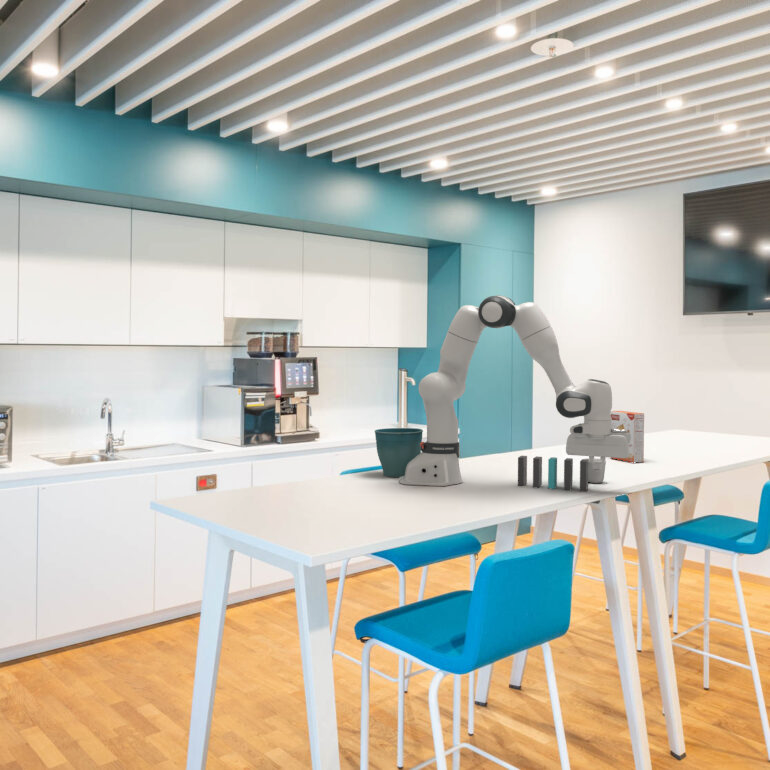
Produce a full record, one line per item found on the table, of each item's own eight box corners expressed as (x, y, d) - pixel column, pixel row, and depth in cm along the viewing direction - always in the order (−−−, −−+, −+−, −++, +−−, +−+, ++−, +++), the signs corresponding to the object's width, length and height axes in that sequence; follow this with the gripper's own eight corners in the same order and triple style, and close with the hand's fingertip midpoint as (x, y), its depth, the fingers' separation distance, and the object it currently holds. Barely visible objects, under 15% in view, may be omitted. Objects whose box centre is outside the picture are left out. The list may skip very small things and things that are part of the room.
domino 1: (526, 484, 258) (527, 455, 257) (523, 486, 253) (523, 457, 253) (521, 484, 259) (521, 455, 258) (517, 486, 254) (518, 457, 254)
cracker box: (609, 459, 319) (610, 410, 318) (620, 458, 322) (621, 410, 321) (633, 463, 306) (633, 413, 305) (644, 462, 309) (644, 412, 308)
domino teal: (556, 486, 254) (557, 457, 253) (554, 489, 249) (554, 459, 249) (550, 486, 254) (551, 457, 254) (548, 488, 250) (548, 459, 249)
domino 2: (541, 485, 256) (542, 456, 255) (538, 488, 251) (539, 458, 251) (535, 485, 256) (536, 456, 256) (532, 487, 252) (533, 458, 251)
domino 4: (588, 488, 250) (588, 459, 249) (585, 491, 245) (586, 461, 244) (582, 488, 250) (582, 459, 250) (579, 491, 246) (580, 461, 245)
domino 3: (572, 487, 252) (572, 458, 251) (569, 490, 247) (570, 460, 247) (566, 487, 252) (566, 458, 252) (563, 489, 248) (564, 460, 247)
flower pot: (365, 477, 273) (365, 431, 272) (388, 470, 289) (388, 426, 288) (409, 481, 264) (410, 433, 264) (430, 473, 280) (430, 429, 280)
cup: (572, 479, 267) (573, 457, 267) (591, 478, 270) (591, 456, 270) (591, 484, 257) (591, 461, 257) (610, 483, 260) (610, 460, 260)
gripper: (631, 428, 244) (630, 470, 244) (568, 426, 252) (567, 466, 253) (629, 430, 238) (628, 473, 239) (565, 427, 246) (564, 469, 247)
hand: (597, 470), depth 246 cm, fingers closed
